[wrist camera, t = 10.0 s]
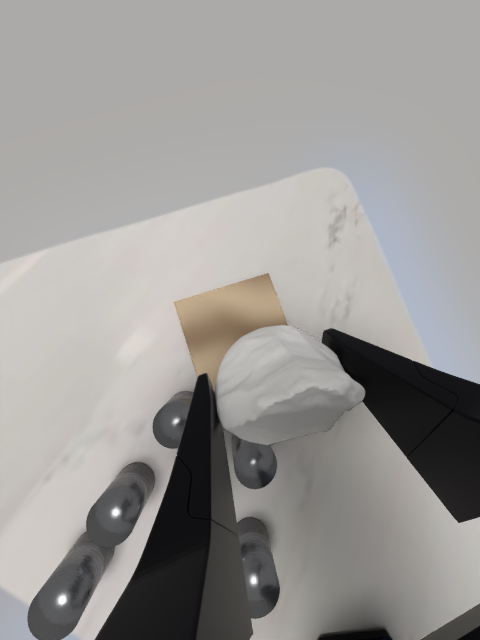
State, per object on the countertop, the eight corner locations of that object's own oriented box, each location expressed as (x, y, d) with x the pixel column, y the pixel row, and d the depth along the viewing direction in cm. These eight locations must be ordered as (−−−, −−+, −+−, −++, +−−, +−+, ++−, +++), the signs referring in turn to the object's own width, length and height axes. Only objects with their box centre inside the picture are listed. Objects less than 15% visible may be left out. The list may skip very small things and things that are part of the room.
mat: (301, 365, 21) (302, 365, 20) (205, 401, 19) (205, 402, 19) (267, 274, 22) (268, 273, 21) (174, 302, 20) (173, 302, 20)
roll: (249, 597, 4) (180, 341, 5) (229, 415, 16) (209, 346, 17) (479, 490, 5) (395, 279, 6) (298, 391, 17) (277, 326, 17)
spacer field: (264, 389, 20) (275, 400, 16) (267, 556, 18) (280, 615, 14) (88, 393, 19) (52, 405, 15) (71, 574, 17) (24, 645, 13)
